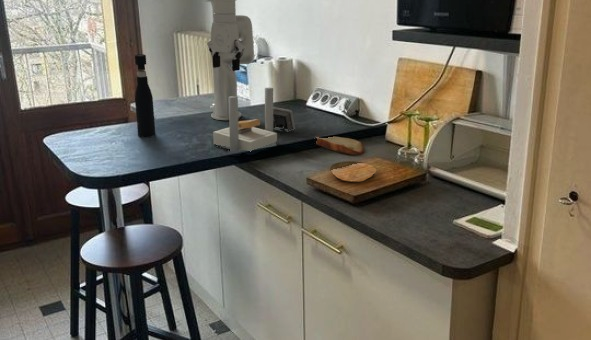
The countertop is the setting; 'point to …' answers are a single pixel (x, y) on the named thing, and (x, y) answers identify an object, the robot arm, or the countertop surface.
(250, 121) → the rocker
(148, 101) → the wine bottle
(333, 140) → the bread slice
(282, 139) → the countertop surface
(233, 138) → the post
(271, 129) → the tall grey block
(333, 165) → the plant saucer
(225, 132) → the grey shallow tray
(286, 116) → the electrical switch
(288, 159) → the countertop surface
